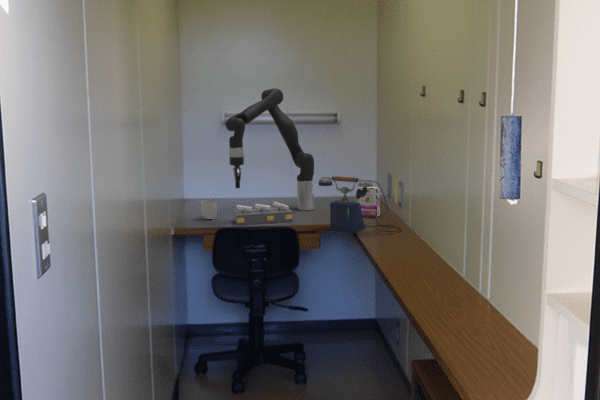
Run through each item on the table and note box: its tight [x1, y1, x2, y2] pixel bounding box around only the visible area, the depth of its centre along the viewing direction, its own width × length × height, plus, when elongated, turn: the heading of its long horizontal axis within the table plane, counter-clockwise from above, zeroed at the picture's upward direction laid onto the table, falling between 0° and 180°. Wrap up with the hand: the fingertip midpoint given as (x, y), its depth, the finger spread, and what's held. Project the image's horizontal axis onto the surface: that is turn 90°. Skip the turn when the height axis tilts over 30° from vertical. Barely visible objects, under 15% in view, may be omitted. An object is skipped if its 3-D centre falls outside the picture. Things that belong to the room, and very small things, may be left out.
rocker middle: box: [254, 203, 272, 210], centre depth 345 cm, size 8×4×2 cm, turn 103°
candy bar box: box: [357, 186, 381, 219], centre depth 350 cm, size 11×5×16 cm, turn 62°
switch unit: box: [233, 206, 293, 226], centre depth 346 cm, size 30×14×8 cm, turn 102°
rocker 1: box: [236, 204, 253, 211], centre depth 343 cm, size 8×4×2 cm, turn 103°
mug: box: [200, 199, 218, 219], centre depth 357 cm, size 13×9×10 cm
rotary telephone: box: [318, 176, 402, 234], centre depth 321 cm, size 41×22×27 cm, turn 59°
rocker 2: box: [272, 201, 290, 210], centre depth 348 cm, size 8×4×2 cm, turn 103°
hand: (237, 188), depth 341 cm, fingers closed
